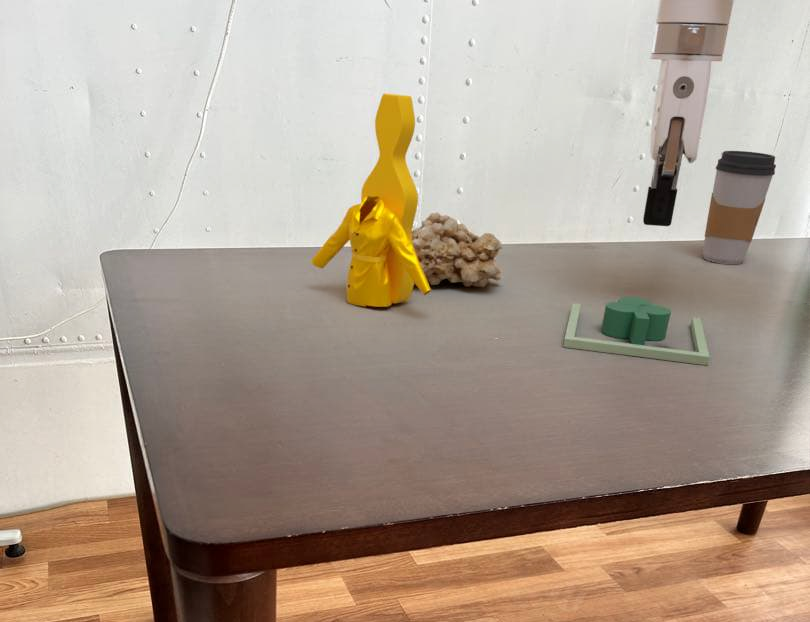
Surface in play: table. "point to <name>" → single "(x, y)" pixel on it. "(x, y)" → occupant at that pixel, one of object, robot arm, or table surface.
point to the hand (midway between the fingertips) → (656, 224)
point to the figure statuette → (383, 218)
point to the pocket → (639, 350)
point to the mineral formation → (455, 252)
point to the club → (635, 320)
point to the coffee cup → (736, 204)
